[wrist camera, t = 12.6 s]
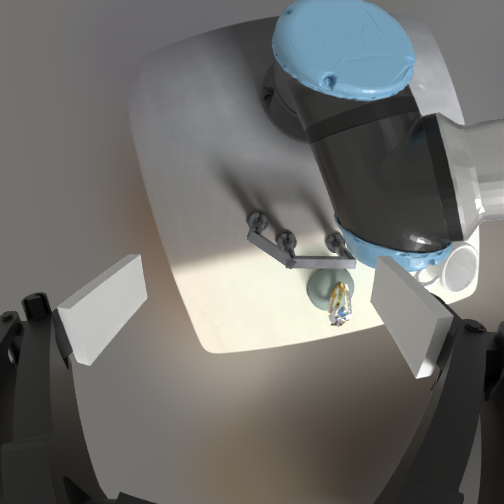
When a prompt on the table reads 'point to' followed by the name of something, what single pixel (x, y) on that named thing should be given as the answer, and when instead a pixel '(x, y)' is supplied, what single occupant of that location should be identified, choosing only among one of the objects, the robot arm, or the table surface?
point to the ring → (331, 313)
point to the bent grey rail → (288, 243)
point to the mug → (453, 269)
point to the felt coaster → (328, 287)
